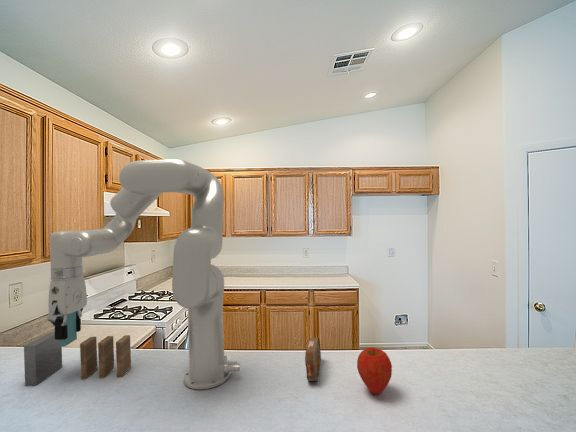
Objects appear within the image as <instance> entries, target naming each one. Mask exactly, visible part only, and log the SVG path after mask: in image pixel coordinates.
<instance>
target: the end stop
mask: <svg viewBox="0 0 576 432" xmlns="http://www.w3.org/2000/svg"><path fill="white" fill-rule="evenodd" d="M62 348H63V346H60V347H59V340H55V331H51V332H49V333H47V334H45V335H43V336H41V337H39V338H37V339H35V340H33V341H31V342H29V343H27V344H25V345H23V359H24V360H23V361H24V362H23V363H24V364H23V365H24V386H25V387H34V386H38V385H40V384H41V383H42V382H44V381H45V380H47V379H48V378H49V377H51V376H52V375H53V374H55V373H56V372H58V371H60V370H61V369H62V368H63V353H62V351H63V349H62Z"/></svg>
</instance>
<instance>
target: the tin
mask: <svg viewBox="0 0 576 432" xmlns="http://www.w3.org/2000/svg"><path fill="white" fill-rule="evenodd" d="M321 352H322V351H321V342H320V338H319V336H318V337H310V338H309V339H308V342H307V346H306V349H305V354H304V355H305V357H304V362H305V370H306V380H307V381H309V382H318V380H319V376H320V370H321V366H322V365H321V364H322V355H321V354H322V353H321Z"/></svg>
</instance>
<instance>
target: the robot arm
mask: <svg viewBox="0 0 576 432" xmlns="http://www.w3.org/2000/svg"><path fill="white" fill-rule="evenodd" d="M118 179H119V180H118V181H119V184H120V186H121V189H120V190H118V192H117V193H116V194H114V196H113V197H111V199H110V202H109V203H110V204H109V205H110V207H111V209H112V210H113V211H114V213H115V215H114V216H113V218H112V219H111V220H110V221H109V222H108V223H107V224H106V225H105V226H104V227H103V228H97V229H85V230H84V229H83V230H61V231H54V232H52V233H51V234H50V236H49V249H50V252H49V253H50V254H49V255H50V257H49V258H50V284H49V289H48V300H47V301H48V314H47V316H46V320H47V321H48V322H50V323H51V324H52V326H53V327H54V332H55V340H65V339H67V338H68V327H67V325H65V324H66V319H67V315H69V314H71V313H74V312H76V332H77V333H79V332H81V330H82V328H81V327H82V325H81V324H82V323H81V322H82V321H81V318H82V316H83V315H82V312H83V310H84V308H85V307H86V306H87V303H88V296H87V287H86V280H85V276H84V275H83V271H84V270H83V258H86V257H87V258H88V257H93V256H96V255H97V256H98V255H103V254H108V253H110V252H113V251H115V250H116V249H117V248H118V247H120V245H121V244H123V242H125V241H126V239H128V237H130V236H131V234H132V232H133V231H134V228H135V227H136V223H137V219H138V218H139V217H140V216H142V214H143V213H144V212H145V211H146V210H147V209H148V207H150V205H152V204H153V203H154V202H155V201H156V200H157V199H158V198H159V197H160V196H161V195H162V194H163V193H164V194H165V193H178V194H185V195H190V196H193V197H194V201H193V203H192V209H191V223H190V224H191V225H190V227H188V228H187V229H184V230H183V231H182V232H180V234H179V235H177V238H176V240H175V243H174V246H173V254H172V255H173V256H172V280H171V283H172V284H171V286H172V287H171V289H172V294H173V295H172V296H173V298H174V300H175V302H176V303H177V305H179V306H180V307H181V308H183V309H187V310H188V311H187V312H188V313H187V327H188V328H187V332H188V334H187V335H188V336H187V337H188V367H189V368H188V370H187V371H186V372H185V374H184V376H183V383H184V386H186V387H188V388H190V389H193V390H207V389H213V388H215V387H218V386H220V385H222V384H224V383H225V382H227V381H228V379H229V378H230V376H231V373H232V372H233V373H238V372H240V371H241V363H238V361H237V360H232V361H230V360H228V357H227V355H225V339H224V335H225V334H224V294H225V293H224V292H225V278H224V275H223V272H222V270H221V269H220V268H219V267H218V266H216V265H214V264H212V259H215V258H216V257H218V256H219V255H220V254H221V252H222V247H223V234H224V233H223V231H224V230H223V229H224V203H225V202H224V195H225V194H224V190H223V186H222V184H221V182H220V180H219V179H218V178H217V177H216V175H215V174H213V173H212V172H211V171H209V170H207V169H206V168H203V167H201V166H199V165H196V164H194V163H191V162H189V161H186V160H183V159H180V158H179V159H175V158H168V159H166V158H165V159H164V158H163V159H145V160H140V159H139V160H134V161H131V162H129V163H127V164H125V165H124V166H123V167H122V168H121V170H120V171H119V176H118ZM59 312H60V313H61V314H59ZM60 316H62V320H61V319H60V318H59V317H60Z"/></svg>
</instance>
